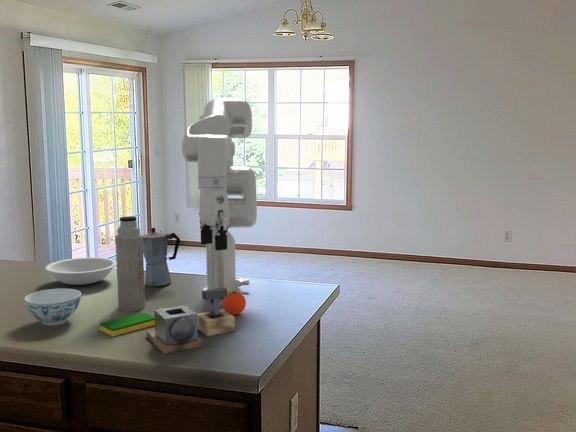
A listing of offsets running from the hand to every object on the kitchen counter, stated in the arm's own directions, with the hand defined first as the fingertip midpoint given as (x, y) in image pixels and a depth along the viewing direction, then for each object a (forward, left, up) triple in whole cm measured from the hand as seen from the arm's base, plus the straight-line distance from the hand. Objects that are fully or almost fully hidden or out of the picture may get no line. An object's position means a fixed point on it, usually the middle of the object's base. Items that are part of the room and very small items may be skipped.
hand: (213, 246), depth 165 cm
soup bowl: (+21, -69, -24) cm, 76 cm away
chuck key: (0, 0, -23) cm, 23 cm away
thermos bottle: (+14, -32, -23) cm, 42 cm away
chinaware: (+37, -29, -23) cm, 53 cm away
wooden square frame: (0, 0, -23) cm, 23 cm away
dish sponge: (+20, -14, -24) cm, 34 cm away
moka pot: (-2, -54, -23) cm, 59 cm away
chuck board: (+13, +3, -23) cm, 27 cm away
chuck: (+13, +1, -22) cm, 25 cm away
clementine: (-10, -10, -23) cm, 28 cm away
